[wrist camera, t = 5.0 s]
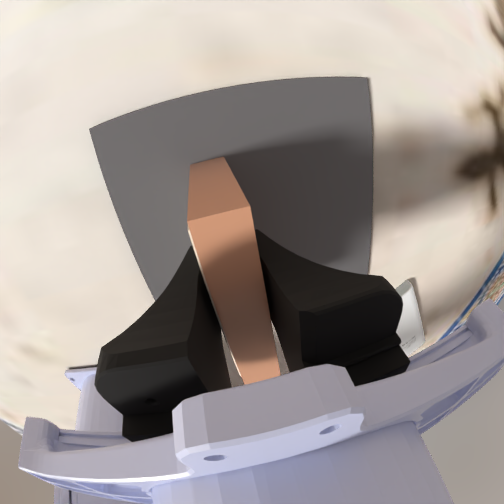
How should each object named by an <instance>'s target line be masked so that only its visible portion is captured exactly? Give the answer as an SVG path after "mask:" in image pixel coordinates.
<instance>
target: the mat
mask: <svg viewBox="0 0 504 504" xmlns="http://www.w3.org/2000/svg"><path fill="white" fill-rule="evenodd" d="M89 130H90V134H91V137H92V141H93V144H94V148H95V151H96V155H97V158H98V161H99V164H100V168H101V171H102V174H103V177H104V180H105V183H106V186H107V189H108V191H109V194H110V197H111V200H112V203H113V205H114V208H115V211H116V213H117V216H118V218H119V221H120V224H121V226H122V229H123V231H124V234H125V236H126V238H127V241H128V243H129V246H130V248H131V250H132V252H133V255H134V257H135V259H136V262H137V264H138V266H139V268H140V270H141V273H142V275H143V277H144V279H145V281H146V283H147V285H148V287H149V289H150V291H151V293H152V295H153V297H154V299H155V301H156V300H157V299H158V298H159V296H160V295H161V294H162V293H163V291H164V290H165V289H166V287H167V286H168V284H169V283H170V281H171V280H172V278H173V276H174V275H175V273H176V271H177V269H178V268H179V266H180V264H181V262H182V260H183V258H184V257H185V255H186V253H187V251H188V249H189V247H190V246H192V242H191V239H190V236H189V233H188V223H187V212H188V191H189V175H190V165H191V164H195V163H199V162H203V161H207V160H211V159H215V158H219V157H224V158H225V160H226V162H227V164H228V165H229V167H230V169H231V171H232V173H233V175H234V177H235V178H236V180H237V182H238V184H239V186H240V188H241V190H242V191H243V193H244V195H245V197H246V199H247V201H248V203H249V205H250V208H251V213H252V218H253V224H254V229H255V230H256V229H258V230H259V231H261V232H262V233H264V234H265V235H266V236H268V237H269V238H270V239H272V240H273V241H275V242H276V243H278V244H279V245H281V246H282V247H284V248H286V249H287V250H289V251H291V252H293V253H295V254H297V255H299V256H301V257H303V258H305V259H308V260H310V261H313V262H315V263H318V264H321V265H324V266H327V267H331V268H334V269H338V270H342V271H347V272H352V273H358V274H366V275H367V274H368V264H369V254H370V242H371V228H372V207H373V143H372V124H371V110H370V99H369V89H368V80H367V78H365V77H314V78H296V79H284V80H274V81H265V82H257V83H250V84H243V85H237V86H231V87H226V88H220V89H215V90H210V91H206V92H201V93H197V94H192V95H188V96H184V97H180V98H177V99H173V100H169V101H166V102H162V103H159V104H156V105H152V106H149V107H146V108H143V109H140V110H137V111H134V112H131V113H128V114H125V115H123V116H120V117H117V118H115V119H112V120H109V121H107V122H104V123H102V124H99V125H97V126H95V127H92V128H90V129H89Z"/></svg>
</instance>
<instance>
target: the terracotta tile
mask: <svg viewBox="0 0 504 504" xmlns="http://www.w3.org/2000/svg"><path fill="white" fill-rule="evenodd" d="M187 223H188V233H189V236H190V239H191V242H192V245H193V249H194V252H195V255H196V258H197V261H198V264H199V267H200V270H201V273H202V276H203V279H204V282H205V284H206V287H207V290H208V293H209V296H210V299H211V302H212V304H213V307H214V310H215V313H216V315H217V318H218V321H219V324H220V326H221V329H222V332H223V334H224V337H225V340H226V342H227V345H228V347H229V350H230V353H231V355H232V358H233V360H234V363H235V365H236V368H237V370H238V373H239V375H240V376H241V377H242V379H243V382H244V384H245V385H246V384H250V383H254V382H258V381H262V380H266V379H270V378H273V377H277V376H281V375H280V369H279V364H278V358H277V352H276V347H275V341H274V335H273V329H272V324H271V318H270V312H269V307H268V301H267V296H266V290H265V284H264V279H263V273H262V268H261V262H260V257H259V251H258V246H257V240H256V235H255V229H254V224H253V218H252V213H251V208H250V205H249V203H248V201H247V199H246V197H245V195H244V193H243V191H242V190H241V188H240V186H239V184H238V182H237V180H236V178H235V177H234V175H233V173H232V171H231V169H230V167H229V165H228V164H227V162H226V160H225V158H224V157H219V158H215V159H211V160H207V161H203V162H199V163H195V164H191V165H190V175H189V191H188V212H187Z"/></svg>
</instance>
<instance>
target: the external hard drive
mask: <svg viewBox="0 0 504 504" xmlns="http://www.w3.org/2000/svg"><path fill="white" fill-rule="evenodd" d="M395 290H396V291H397V292H398V294H399V295H400V296H401V297H402V300H403V310H402V314H401V318H400V321H399V324H398V328H397V331H396V333H397V334H398V336H399V337H400V339H401V344H400V347H401V348H402V349H403V351H404V352H405V354H406V355H407V357H408V356H409V355H410V354H412V353H413V352H414V351H416V350H417V349H418V348H419V347H421V346H422V345H423V344H424V342H425V336H424V331H423V326H422V321H421V316H420V312H419V308H418V303H417V300H416V296H415V292H414V288H413V285H412V284H411V283H410V282H409V281H408V280H406V281H405V282H404V283H402V284H401V285H400V286H399V287H397V288H396V289H395Z"/></svg>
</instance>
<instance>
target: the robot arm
mask: <svg viewBox="0 0 504 504" xmlns="http://www.w3.org/2000/svg"><path fill="white" fill-rule="evenodd" d="M255 235H256V240H257V246H258V251H259V257H260V262H261V268H262V273H263V279H264V284H265V290H266V296H267V301H268V307H269V312H270V318H271V321H272V323H273V325H274V327H275V330H276V332H277V335H278V338H279V341H280V344H281V347H282V350H283V353H284V356H285V359H286V362H287V365H288V368H289V372H290V373H287V374H284V375H281V376H277V377H273V378H270V379H266V380H262V381H258V382H254V383H250V384H246V385H242V386H237V387H233V388H232V387H231V382H230V378H229V373H228V369H227V364H226V359H225V355H224V350H223V343H222V333H221V326H220V324H219V321H218V318H217V315H216V313H215V310H214V307H213V304H212V302H211V299H210V296H209V293H208V290H207V287H206V284H205V282H204V279H203V276H202V273H201V270H200V267H199V264H198V261H197V258H196V255H195V252H194V249H193V245H192V246H190V247H189V249H188V251H187V253H186V255H185V257H184V258H183V260H182V262H181V264H180V266H179V268H178V269H177V271H176V273H175V275H174V276H173V278H172V280H171V281H170V283H169V284H168V286H167V287H166V289H165V290H164V291H163V293H162V294H161V295H160V296H159V298H158V299H157V300H156V301H155V302H154V304H153V305H152V306H151V307H150V308H149V309H148V310H147V311H146V312H145V313H144V314H143V315H142V316H141V317H140V318H139V319H138V320H137V321H136V322H135V323H133V324H132V325H131V326H130V327H129V328H128V329H126V330H125V331H124V332H123V333H121V334H120V335H119V336H117V337H116V338H114V339H113V340H112V341H110V342H109V343H107V344H106V345H104V346H103V347H102V348H101V351H100V355H99V359H98V364H97V367H93V368H83V369H72V370H66V371H65V376H66V377H67V378H68V379H69V380H70V381H71V382H72V383H73V384H74V385H75V386H76V387H77V388H78V389H79V390H80V391H81V395H80V400H79V406H78V413H77V419H76V427H75V430H66V429H59V428H58V427H57V426H56V425H55V424H53V423H52V422H50V421H48V420H46V419H42V418H35V417H26V421H25V426H24V431H23V436H22V443H21V449H20V456H19V466H18V467H19V468H20V469H21V470H23V471H25V472H28V473H29V474H31V475H33V476H35V477H37V478H39V479H41V480H44V481H46V482H48V483H50V484H53V485H54V504H454V503H453V501H452V498H451V496H450V494H449V492H448V490H447V487H446V485H445V483H444V481H443V479H442V477H441V475H440V473H439V471H438V469H437V467H436V465H435V463H434V461H433V459H432V457H431V455H430V453H429V451H428V449H427V447H426V445H425V443H424V441H423V439H422V437H421V434H422V433H424V432H425V431H427V430H428V429H430V428H431V427H432V426H434V425H435V424H437V423H438V422H439V421H441V420H442V419H444V418H445V417H446V416H448V415H449V414H450V413H452V412H453V411H454V410H455V409H457V408H458V407H459V406H460V405H462V404H463V403H464V402H465V401H467V400H468V399H469V398H470V397H471V396H472V395H474V394H475V393H476V392H477V391H478V390H479V389H481V388H482V387H483V386H484V385H485V384H486V383H487V382H488V381H490V380H491V379H492V378H493V377H494V376H495V375H496V374H497V373H498V372H499V370H500V369H501V368H502V367H503V365H504V312H503V311H502V310H501V309H500V308H499V307H498V306H497V305H496V304H495V303H494V302H493V301H492V300H491V299H490V298H488V299H487V300H485V301H484V302H482V303H481V304H480V305H478V306H477V307H475V308H474V309H473V310H472V312H471V313H470V315H469V316H468V319H467V321H466V324H465V325H464V326H462V327H461V328H459V329H458V330H456V331H454V332H453V333H451V334H450V335H448V336H446V337H445V338H443V339H442V340H440V341H438V342H436V343H435V344H433V345H431V346H430V347H428V348H426V349H424V350H422V351H421V352H419V353H417V354H415V355H413V356H411V357H409V358H408V357H407V355H406V354H405V352H404V351H403V349H402V348H401V347H400V344H401V339H400V337H399V336H398V334H397V333H396V331H397V328H398V324H399V321H400V318H401V314H402V310H403V300H402V297H401V296H400V295H399V294H398V292H397V291H396V290H395V289H394V288H393V286H392V285H391V284H390V283H389V282H388V281H387V280H386V279H385V278H384V277H383V276H376V275H366V274H358V273H352V272H347V271H342V270H338V269H334V268H331V267H327V266H324V265H321V264H318V263H315V262H313V261H310V260H308V259H305V258H303V257H301V256H299V255H297V254H295V253H293V252H291V251H289V250H287V249H286V248H284V247H282V246H281V245H279V244H278V243H276V242H275V241H273V240H272V239H270V238H269V237H268V236H266V235H265V234H264V233H262V232H261V231H259V230H258V229H256V230H255Z"/></svg>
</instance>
